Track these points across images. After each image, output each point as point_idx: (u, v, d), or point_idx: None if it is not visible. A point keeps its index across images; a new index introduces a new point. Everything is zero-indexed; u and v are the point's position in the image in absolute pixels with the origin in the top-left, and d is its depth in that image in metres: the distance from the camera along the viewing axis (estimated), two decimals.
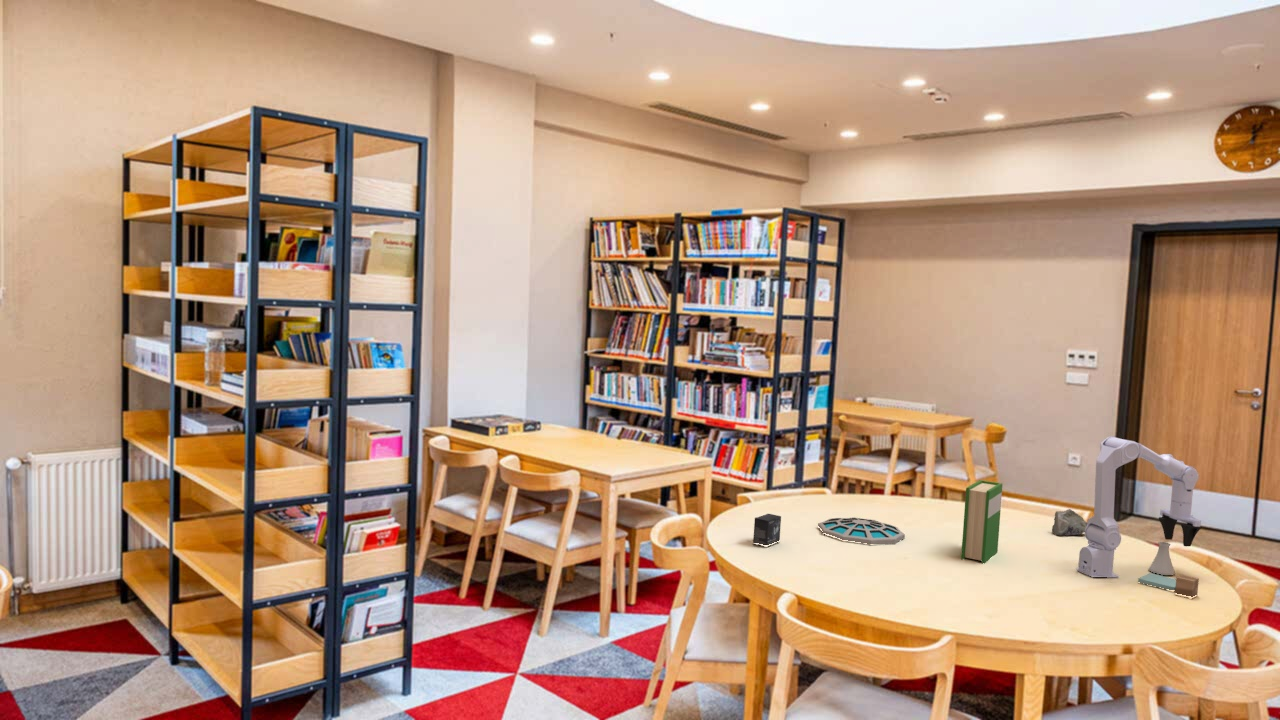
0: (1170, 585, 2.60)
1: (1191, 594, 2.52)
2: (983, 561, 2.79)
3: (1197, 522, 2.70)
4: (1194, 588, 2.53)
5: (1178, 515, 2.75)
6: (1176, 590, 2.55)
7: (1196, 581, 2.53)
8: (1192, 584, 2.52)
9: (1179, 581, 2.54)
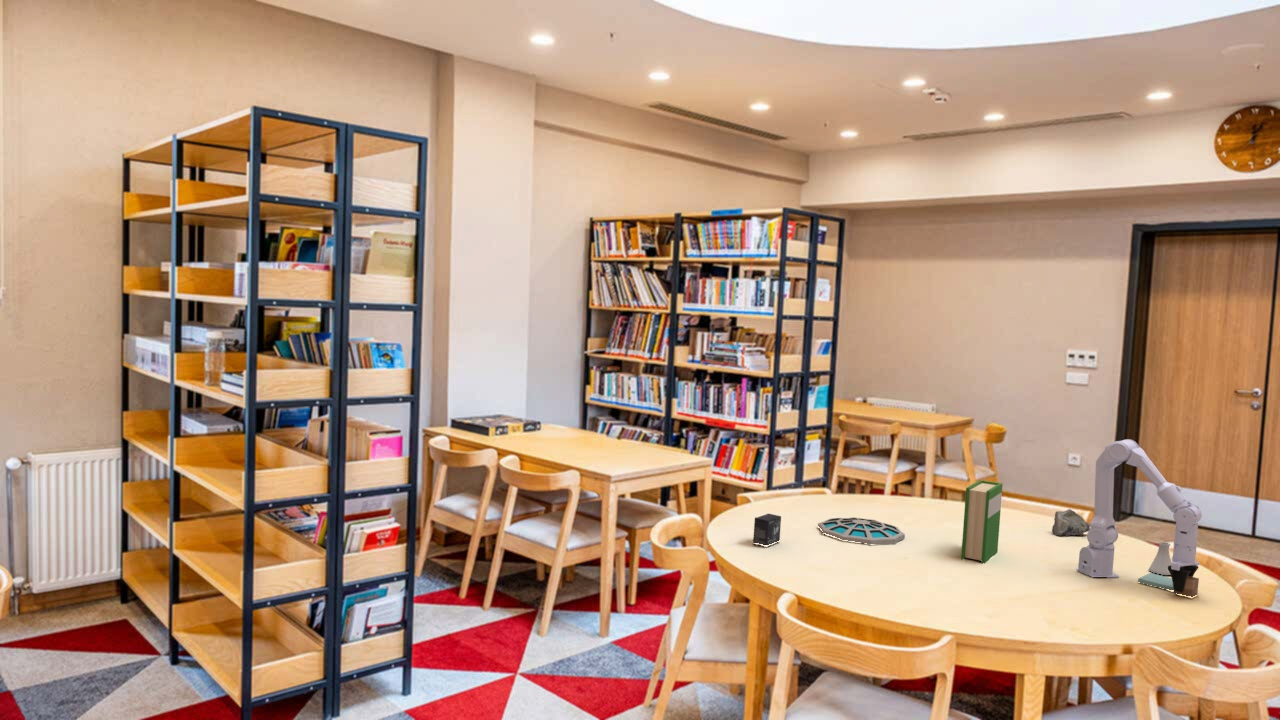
0: (1170, 585, 2.60)
1: (1191, 594, 2.52)
2: (983, 561, 2.79)
3: (1174, 565, 2.51)
4: (1194, 588, 2.53)
5: (1173, 557, 2.56)
6: None
7: (1196, 581, 2.54)
8: (1192, 584, 2.52)
9: None
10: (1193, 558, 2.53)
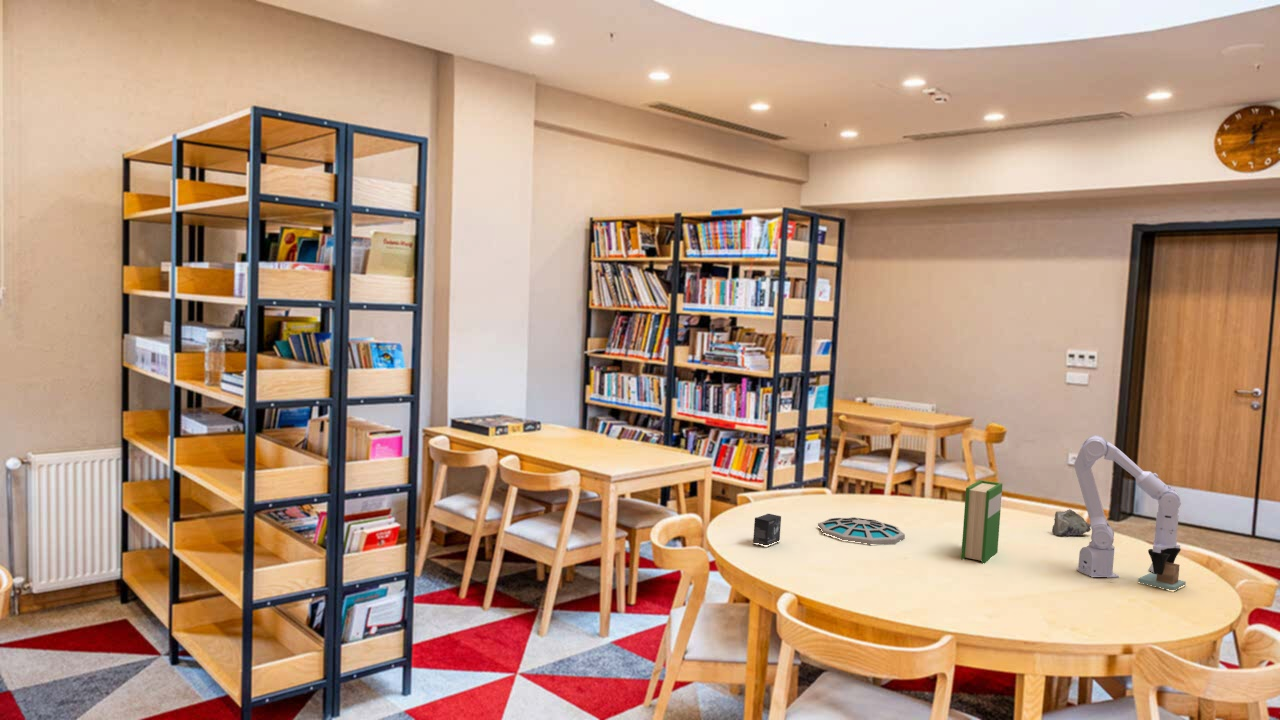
0: (1170, 585, 2.60)
1: (1172, 579, 2.61)
2: (983, 561, 2.79)
3: (1155, 547, 2.60)
4: (1175, 574, 2.61)
5: (1155, 540, 2.65)
6: (1157, 576, 2.64)
7: (1177, 567, 2.62)
8: (1173, 570, 2.60)
9: None
10: (1174, 541, 2.61)
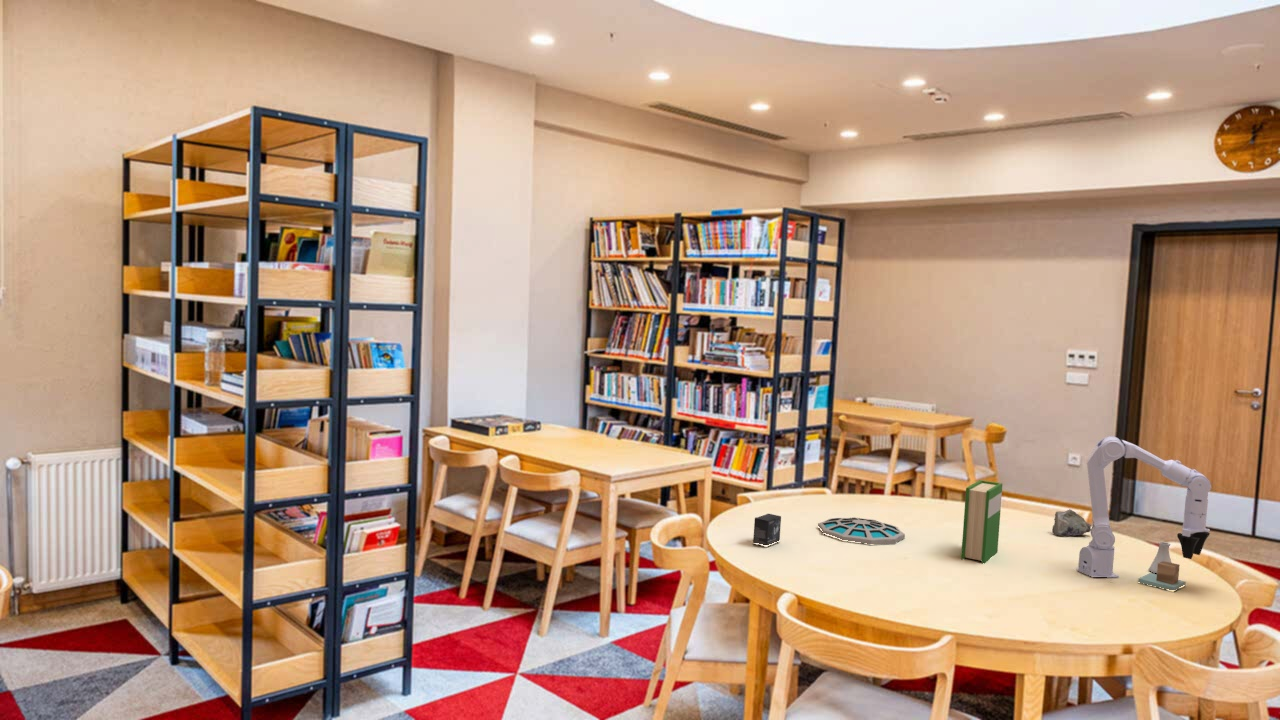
0: (1170, 585, 2.60)
1: (1172, 579, 2.61)
2: (983, 561, 2.79)
3: (1185, 531, 2.57)
4: (1175, 574, 2.61)
5: (1183, 525, 2.63)
6: (1157, 576, 2.64)
7: (1177, 567, 2.62)
8: (1173, 570, 2.60)
9: (1161, 567, 2.63)
10: (1203, 525, 2.59)
